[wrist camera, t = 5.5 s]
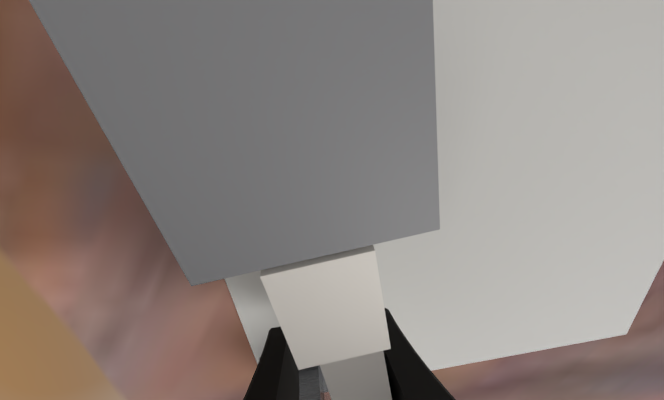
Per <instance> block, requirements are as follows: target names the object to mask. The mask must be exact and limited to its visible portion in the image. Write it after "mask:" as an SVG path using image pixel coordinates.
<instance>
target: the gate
mask: <svg viewBox="0 0 664 400" xmlns="http://www.w3.org/2000/svg"><path fill="white" fill-rule="evenodd" d="M29 1H30V3H31V5H32V7H33V8H34V10H35V12H36V14H37V15H38V17H39V19H40V21H41V22H42V24H43V26H44V28H45V30H46V31H47V33H48V35H49V37H50V38H51V40H52V42H53V44H54V45H55V47H56V49H57V51H58V52H59V54H60V56H61V58H62V59H63V61H64V63H65V65H66V66H67V68H68V70H69V72H70V73H71V75H72V77H73V79H74V81H75V82H76V84H77V86H78V88H79V89H80V91H81V93H82V95H83V96H84V98H85V100H86V102H87V103H88V105H89V107H90V109H91V110H92V112H93V114H94V116H95V117H96V119H97V121H98V123H99V124H100V126H101V128H102V130H103V132H104V133H105V135H106V137H107V139H108V140H109V142H110V144H111V146H112V147H113V149H114V151H115V153H116V154H117V156H118V158H119V160H120V161H121V163H122V165H123V167H124V168H125V170H126V172H127V174H128V175H129V177H130V179H131V181H132V182H133V184H134V186H135V188H136V190H137V191H138V193H139V195H140V197H141V198H142V200H143V202H144V204H145V205H146V207H147V209H148V211H149V212H150V214H151V216H152V218H153V219H154V221H155V223H156V225H157V226H158V228H159V230H160V232H161V233H162V235H163V237H164V239H165V241H166V242H167V244H168V246H169V248H170V249H171V251H172V253H173V255H174V256H175V258H176V260H177V262H178V263H179V265H180V267H181V269H182V270H183V272H184V274H185V276H186V277H187V279H188V281H189V283H190V284H191V286H194V285H198V284H203V283H207V282H211V281H216V280H220V279H225V278H229V277H233V276H238V275H242V274H246V273H251V272H255V271H260V270H261V273H260V278H261V280H262V283H263V285H264V288H265V290H266V293H267V295H268V297H269V300H270V302H271V305H272V307H273V309H274V312H275V314H276V317H277V319H278V322H279V324H280V326H281V329H282V331H283V334H284V336H285V339H286V341H287V343H288V346H289V348H290V351H291V353H292V355H293V358H294V360H295V363H296V365H297V368H298V370H301V369H305V368H310V367H314V366H318V365H320V368H321V371H322V374H323V376H324V379H325V382H326V385H327V388H328V391H329V393H330V396H331V399H332V400H392V396H391V391H390V385H389V380H388V374H387V369H386V363H385V358H384V352H383V351H384V350H388V349H391V346H390V339H389V333H388V327H387V321H386V315H385V309H384V302H383V296H382V290H381V284H380V278H379V272H378V265H377V259H376V253H375V249H374V246H373V245H374V244H378V243H382V242H387V241H391V240H396V239H400V238H404V237H409V236H413V235H417V234H422V233H426V232H431V231H435V230H439V229H440V215H439V183H438V151H437V119H436V87H435V55H434V23H433V0H29Z"/></svg>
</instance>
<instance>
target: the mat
mask: <svg viewBox="0 0 664 400" xmlns="http://www.w3.org/2000/svg"><path fill="white" fill-rule="evenodd" d="M433 23H434V55H435V87H436V119H437V151H438V183H439V215H440V229H439V230H435V231H431V232H426V233H422V234H417V235H413V236H409V237H404V238H400V239H396V240H391V241H387V242H382V243H378V244H374V245H373V246H374V249H375V253H376V259H377V265H378V272H379V278H380V284H381V290H382V296H383V302H384V308H387V309H388V310H389V311H390V313H391V315H392V316H393V318H394V320H395V322H396V323H397V325H398V326H399V328H400V330H401V331H402V333H403V334H404V336H405V337H406V339H407V340H408V341H409V343H410V344H411V346H412V347H413V348H414V350H415V351H416V352H417V354H418V355H419V356H420V358H421V359H422V360H423V362H424V363H425V364H426V366H427V367H428V368H429V369H430V371H431V370H437V369H442V368H447V367H453V366H458V365H464V364H469V363H474V362H480V361H485V360H491V359H496V358H501V357H507V356H512V355H517V354H523V353H528V352H534V351H539V350H544V349H550V348H555V347H560V346H566V345H571V344H577V343H582V342H587V341H593V340H598V339H603V338H609V337H614V336H620V335H625V334H627V332H628V330H629V328H630V326H631V324H632V322H633V320H634V318H635V316H636V314H637V312H638V310H639V308H640V306H641V304H642V302H643V300H644V298H645V296H646V294H647V292H648V290H649V288H650V286H651V284H652V282H653V280H654V278H655V276H656V274H657V272H658V270H659V268H660V266H661V264H662V262H663V260H664V0H433ZM260 273H261V270H260V271H255V272H251V273H246V274H242V275H238V276H233V277H229V278H225V281H226V284H227V286H228V289H229V291H230V294H231V297H232V299H233V302H234V304H235V307H236V310H237V312H238V315H239V317H240V320H241V323H242V325H243V328H244V330H245V333H246V335H247V338H248V341H249V343H250V346H251V348H252V351H253V354H254V356H255V359H256V361H257V364H258V363H259V357H261V354H262V352H263V349H264V346H265V342H266V339H267V336H268V332H269V330H270V329H271V328H274V327H280V324H279V322H278V319H277V317H276V314H275V312H274V309H273V307H272V305H271V302H270V300H269V297H268V295H267V293H266V290H265V288H264V285H263V283H262V280H261V278H260Z"/></svg>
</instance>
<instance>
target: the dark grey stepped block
mask: <svg viewBox="0 0 664 400" xmlns="http://www.w3.org/2000/svg"><path fill="white" fill-rule="evenodd" d="M259 360H260V357H259ZM299 389H300V394H299V400H324V392H329V391H328V388H327V385H326V382H325V379H324V376H323V374H322V371H321V368H320V365H318V366H314V367H310V368H305V369H301V370H299Z"/></svg>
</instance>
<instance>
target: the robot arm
mask: <svg viewBox="0 0 664 400" xmlns="http://www.w3.org/2000/svg"><path fill="white" fill-rule="evenodd" d="M384 309H385V315H386V321H387V327H388V333H389V339H390V346H391V349H388V350H384V351H383V352H384V358H385V363H386V369H387V374H388V380H389V385H390V391H391V396H392V400H455V399H454V397H453V396H452V395H451V394H450V393H449V392H448V391H447V390H446V388H445V387H444V386H443V385H442V384H441V383H440V381H439V380H438V379H437V378H436V377H435V375H434V374H433V373H432V372H431V371H430V369H429V368H428V367H427V366H426V364H425V363H424V362H423V360H422V359H421V358H420V356H419V355H418V354H417V352H416V351H415V350H414V348H413V347H412V346H411V344H410V343H409V341H408V340H407V339H406V337H405V336H404V334H403V333H402V331H401V330H400V328H399V326H398V325H397V323H396V322H395V320H394V318H393V316H392V315H391V313H390V311H389V310H388V309H387V308H384ZM299 394H300V389H299V370H298V368H297V365H296V363H295V360H294V358H293V355H292V353H291V351H290V348H289V346H288V343H287V341H286V339H285V336H284V334H283V331H282V329H281V326H280V327H274V328H271V329H270V330H269V332H268V336H267V339H266V342H265V346H264V349H263V352H262V354H261V357H260V360H259V363H258V365H257V368H256V371H255V373H254V376H253V378H252V380H251V383H250V385H249V388H248V390H247V393H246V395H245V397H244V399H243V400H299Z"/></svg>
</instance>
